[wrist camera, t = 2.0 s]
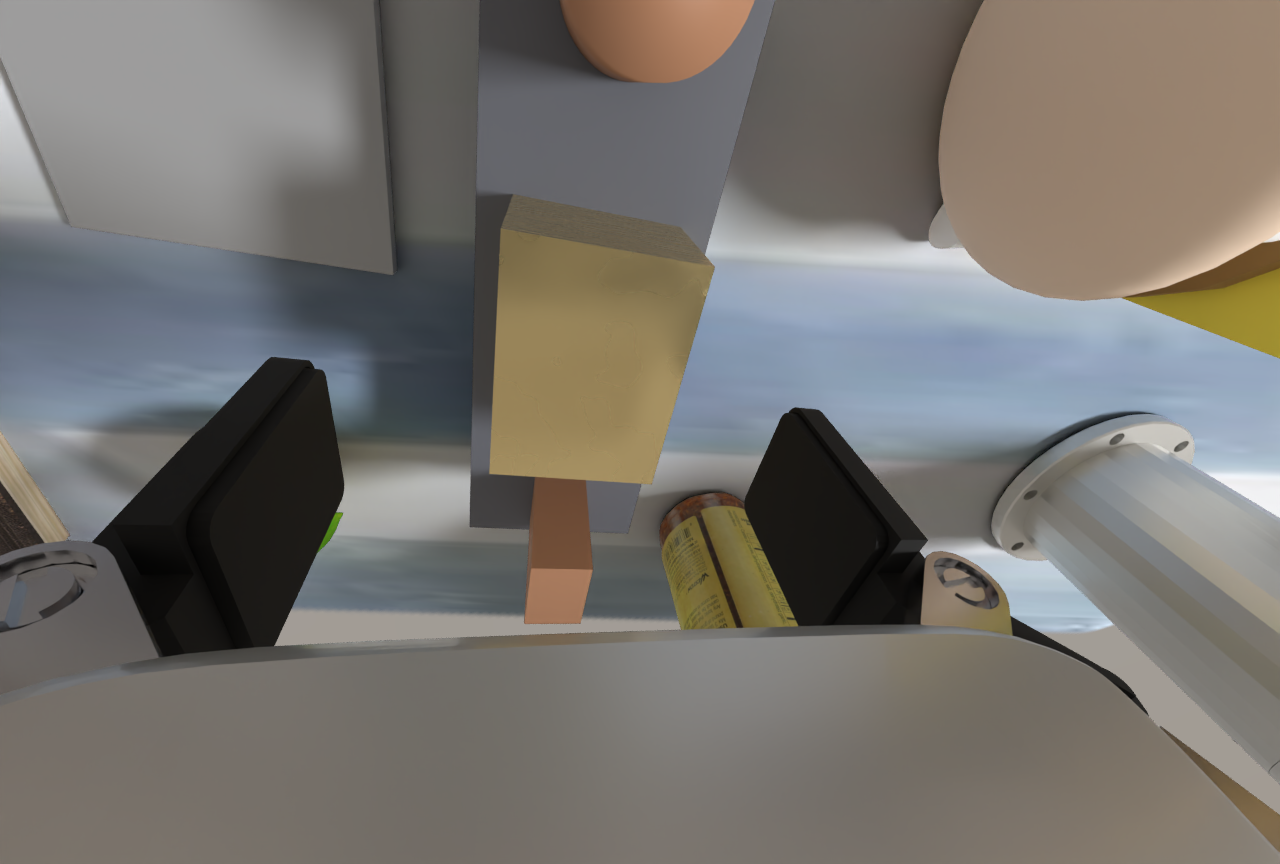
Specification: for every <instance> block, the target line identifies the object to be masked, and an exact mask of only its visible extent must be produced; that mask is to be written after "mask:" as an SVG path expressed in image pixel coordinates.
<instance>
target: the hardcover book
mask: <svg viewBox="0 0 1280 864" xmlns="http://www.w3.org/2000/svg"><path fill="white" fill-rule="evenodd" d="M68 536H70V534H69V533H68V531H67V530H66V528H65V527H64V525H63V524H62V522H61V521H60V519H59V518H58V516H57V515H56V513H55V512H54V510H53V509H52V507H51V506H50V504H49V503H48V501H47V500H46V498H45V497H44V495H43V494H42V492H41V491H40V489H39V488H38V487H37V485H36V484H35V482H34V481H33V479H32V478H31V476H30V475H29V473H28V472H27V470H26V469H25V467H24V466H23V464H22V463H21V461H20V460H19V458H18V457H17V455H16V454H15V452H14V451H13V449H12V448H11V446H10V445H9V443H8V442H7V440H6V439H5V437H4V436H3V434H2V433H1V431H0V556H1V555H4V554H6V553H9V552H11V551H14V550H18V549H22V548H26V547H30V546H34V545H38V544H42V543H50V542H59V541H65V540H66V539H67V538H68Z"/></svg>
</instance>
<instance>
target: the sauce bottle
mask: <svg viewBox="0 0 1280 864" xmlns="http://www.w3.org/2000/svg"><path fill="white" fill-rule="evenodd" d="M659 531H660V546H661V549H662V561H663V565H664V568H665V572H666V576H667V579H668V583H669V586H670V590H671V594H672V597H673V601H674V605H675V609H676V613H677V616H678V620H679V624H680V627H681V630H690V629H721V628H757V627H794V626H798V624H797V622H796V620H795V618H794V616H793V614H792V612H791V609H790V607H789V605H788V603H787V601H786V599H785V597H784V594H783V592H782V590H781V588H780V586H779V584H778V582H777V580H776V577H775V575H774V573H773V571H772V569H771V567H770V565H769V562H768V560H767V558H766V556H765V554H764V552H763V550H762V547H761V545H760V543H759V541H758V539H757V537H756V535H755V533H754V530H753V528H752V526H751V524H750V522H749V520H748V518H747V515H746V513H745V509H744V503H743V502H742V501H741V500H739V499H738V498H736V497H735V496H732V495H731V494H728V493H725V492H722V493H708V494H704V495H697V496H693V497H690V498H687V499H686V500H684V501H682V502H681V503H679V504H677V505H676V506H675V507H674V508H673V509H672V510H671V511H670V512H669V513H668V514H667V515H666V516H665V518H664V520H663V521H662V523H661V526H660V530H659Z"/></svg>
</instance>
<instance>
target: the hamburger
mask: <svg viewBox="0 0 1280 864" xmlns="http://www.w3.org/2000/svg"><path fill="white" fill-rule="evenodd" d="M939 174H940V186H941V193H942V197H943V201H944V203H943V205H942V206H941V208H940V209H939V211H938V213H937V214H936V216H935V217H934V219H933V221H932V223H931V225H930V228H929V236H928V237H929V242H930V244H931V245H932V246H933V247H935V248H940V249H946V248H965V249H966V251H967V252H968V254H969V255H970V256H971V257H972V258H973V259H974V260H975V261H976V262H977V263H978V264H979V265H980V266H981V267H983V268H984V269H985V270H986V271H987V272H988V273H989V274H991V275H992V276H994V277H996V278H998V279H999V280H1001V281H1003V282H1005V283H1006V284H1008V285H1010V286H1012V287H1013V288H1017V289H1020V290H1023V291H1026V292H1030V293H1033V294H1036V295H1039V296H1043V297H1048V298H1058V299H1068V300H1080V301H1085V300H1098V299H1111V298H1123V299H1126V300H1128V301H1131V302H1134V303H1136V304H1139V305H1141V306H1144V307H1147V308H1149V309H1152V310H1154V311H1157V312H1160V313H1162V314H1165V315H1167V316H1170V317H1173V318H1175V319H1178V320H1181V321H1183V322H1186V323H1188V324H1191V325H1194V326H1196V327H1199V328H1201V329H1204V330H1207V331H1209V332H1212V333H1214V334H1217V335H1220V336H1222V337H1225V338H1228V339H1230V340H1233V341H1235V342H1238V343H1241V344H1243V345H1246V346H1248V347H1251V348H1254V349H1256V350H1259V351H1261V352H1264V353H1267V354H1269V355H1272V356H1274V357H1277V358H1280V0H984V1H983V3H982V5H981V7H980V8H979V10H978V13H977V15H976V17H975V19H974V21H973V24H972V26H971V28H970V30H969V33H968V35H967V37H966V39H965V42H964V44H963V46H962V49H961V52H960V55H959V58H958V61H957V63H956V66H955V69H954V72H953V75H952V78H951V82H950V86H949V90H948V94H947V97H946V101H945V105H944V111H943V117H942V123H941V130H940V139H939Z"/></svg>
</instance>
